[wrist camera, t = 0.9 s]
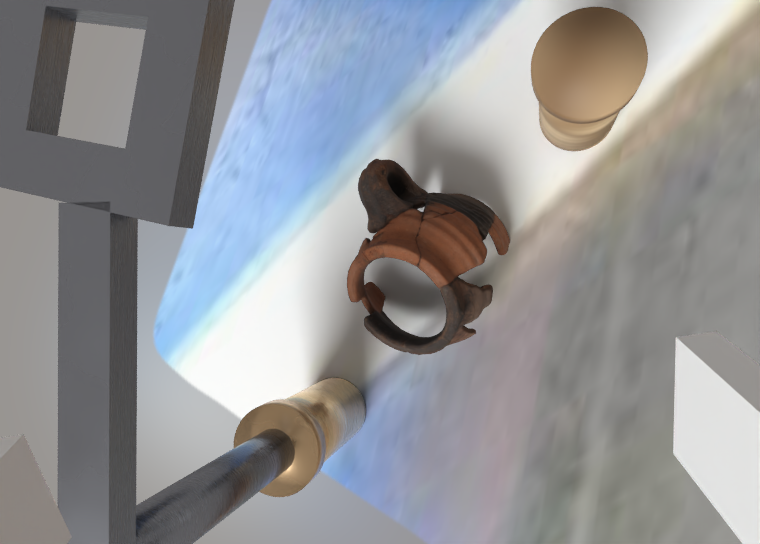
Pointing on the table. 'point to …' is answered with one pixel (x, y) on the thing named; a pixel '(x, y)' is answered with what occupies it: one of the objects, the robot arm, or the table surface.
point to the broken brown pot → (423, 251)
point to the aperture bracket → (119, 268)
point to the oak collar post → (586, 74)
